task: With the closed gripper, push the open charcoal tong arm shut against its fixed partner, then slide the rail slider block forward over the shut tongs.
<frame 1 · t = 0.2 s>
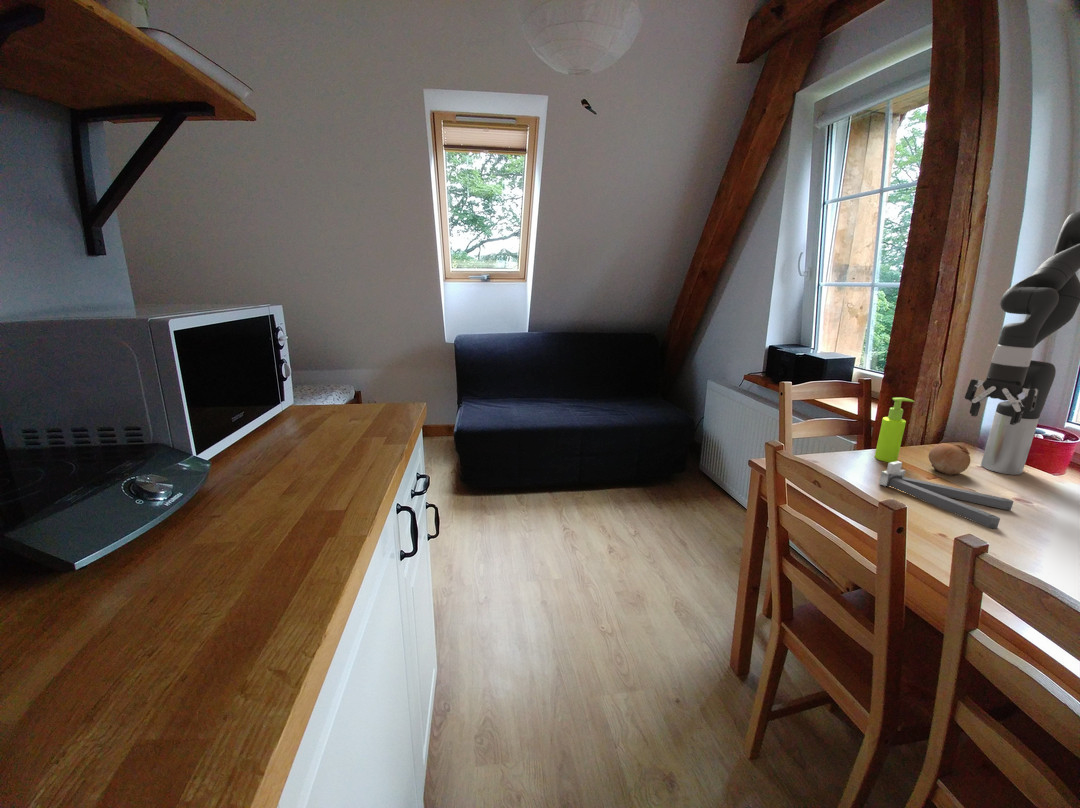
hand: (992, 420, 134), 18 cm above the table, tool pointing down, fingers open, 8 cm apart
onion: (945, 472, 143), on the table
rail slider block: (893, 472, 134), point 3 cm above the table, slide at 0.0 cm
soap dispenser: (887, 459, 153), on the table
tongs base: (897, 487, 133), on the table
tong arm: (954, 492, 127), point 1 cm above the table, hinge at 30.0°
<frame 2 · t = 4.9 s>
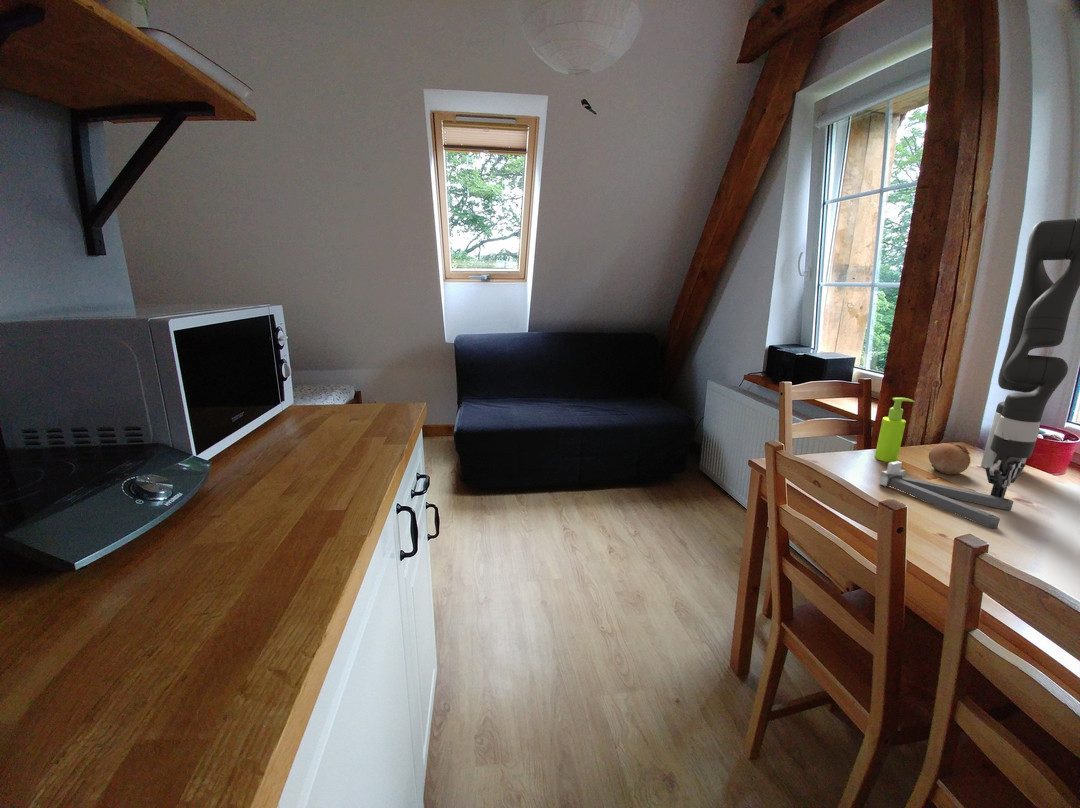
hand: (996, 498, 124), 1 cm above the table, tool pointing down, fingers closed
tong arm: (954, 492, 127), point 1 cm above the table, hinge at 30.0°, touching gripper
everything else where it was.
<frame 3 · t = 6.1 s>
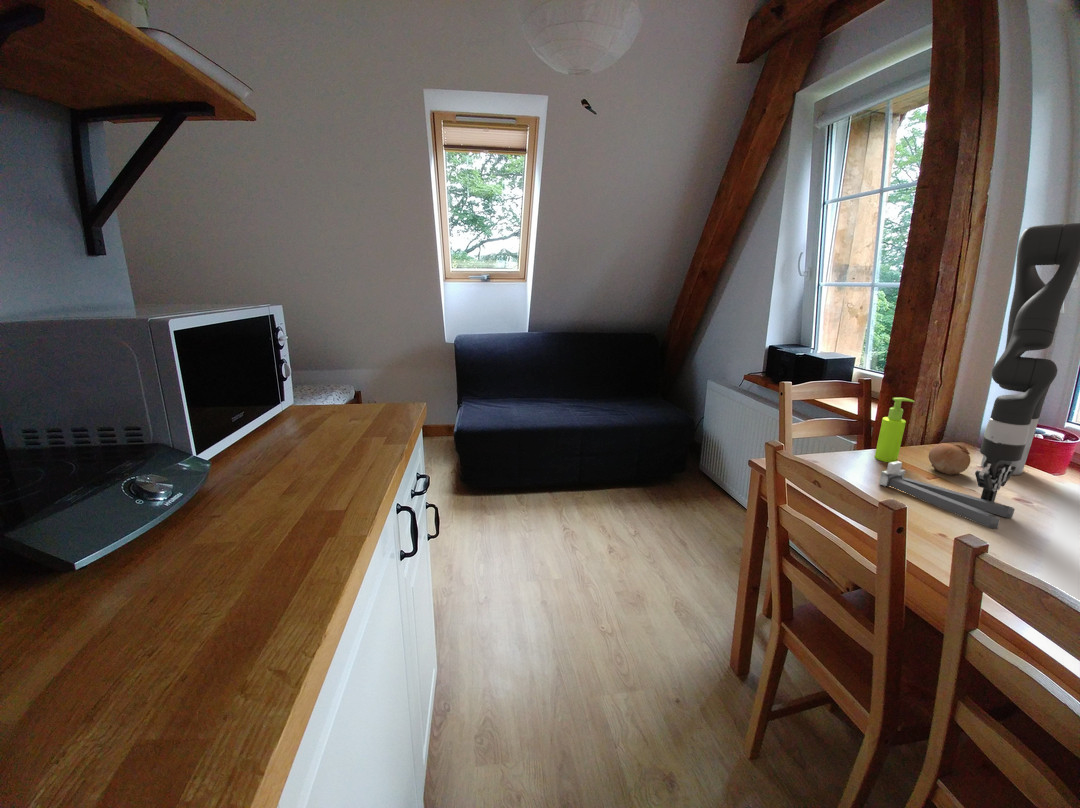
hand: (986, 502, 122), 1 cm above the table, tool pointing down, fingers closed
tong arm: (954, 496, 125), point 1 cm above the table, hinge at 16.5°, touching gripper
everything else where it was.
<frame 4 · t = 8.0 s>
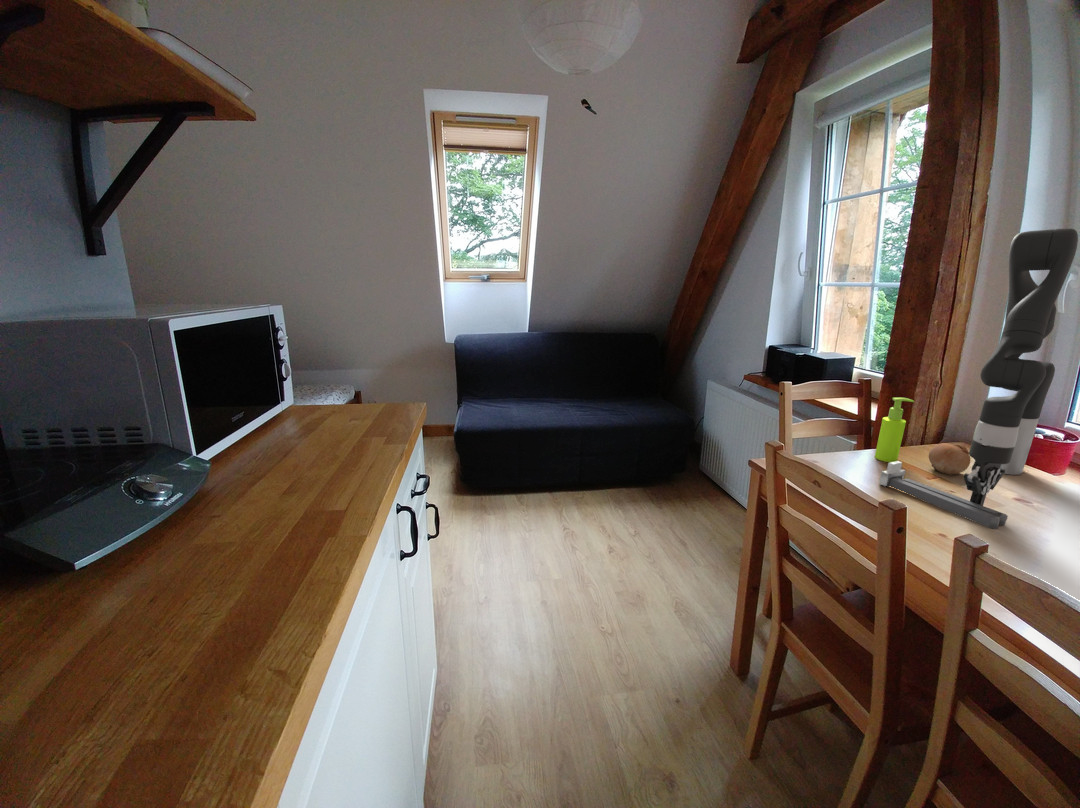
hand: (975, 505, 120), 1 cm above the table, tool pointing down, fingers closed
tong arm: (951, 500, 123), point 1 cm above the table, hinge at 1.4°, touching gripper
everything else where it was.
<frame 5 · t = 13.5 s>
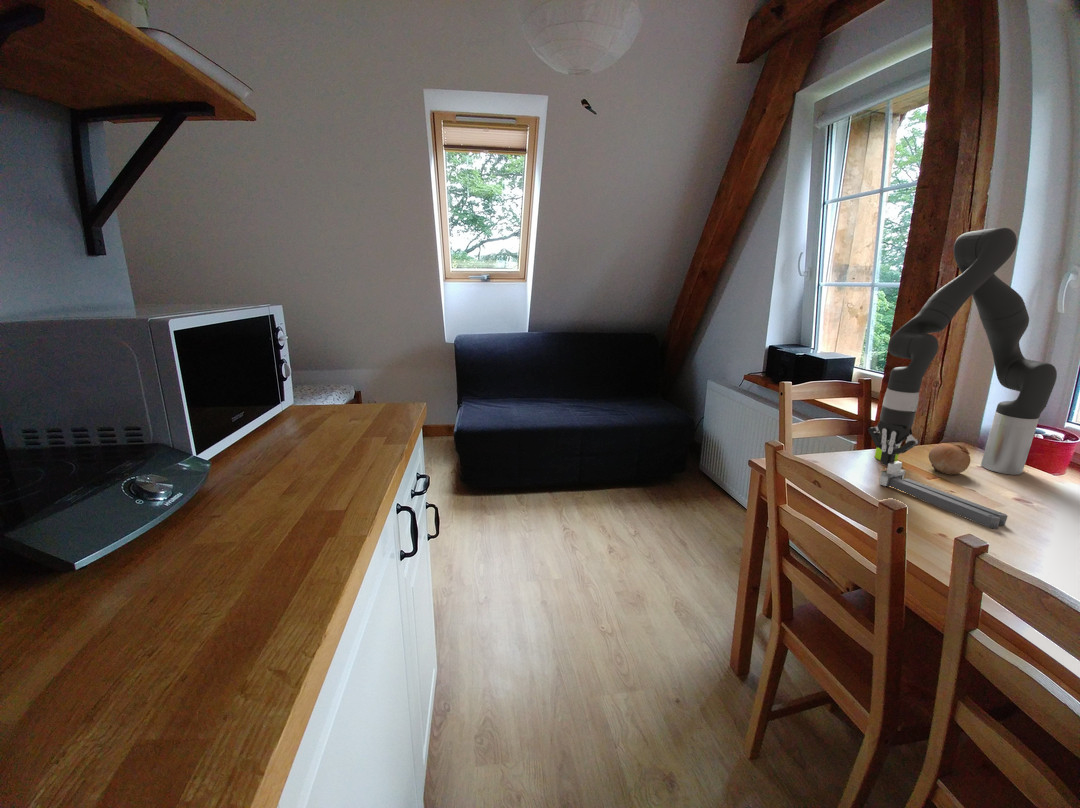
hand: (886, 464, 135), 5 cm above the table, tool pointing down, fingers closed
rail slider block: (893, 473, 134), point 3 cm above the table, slide at 0.0 cm, touching gripper
tong arm: (951, 500, 123), point 1 cm above the table, hinge at 1.4°
everything else where it was.
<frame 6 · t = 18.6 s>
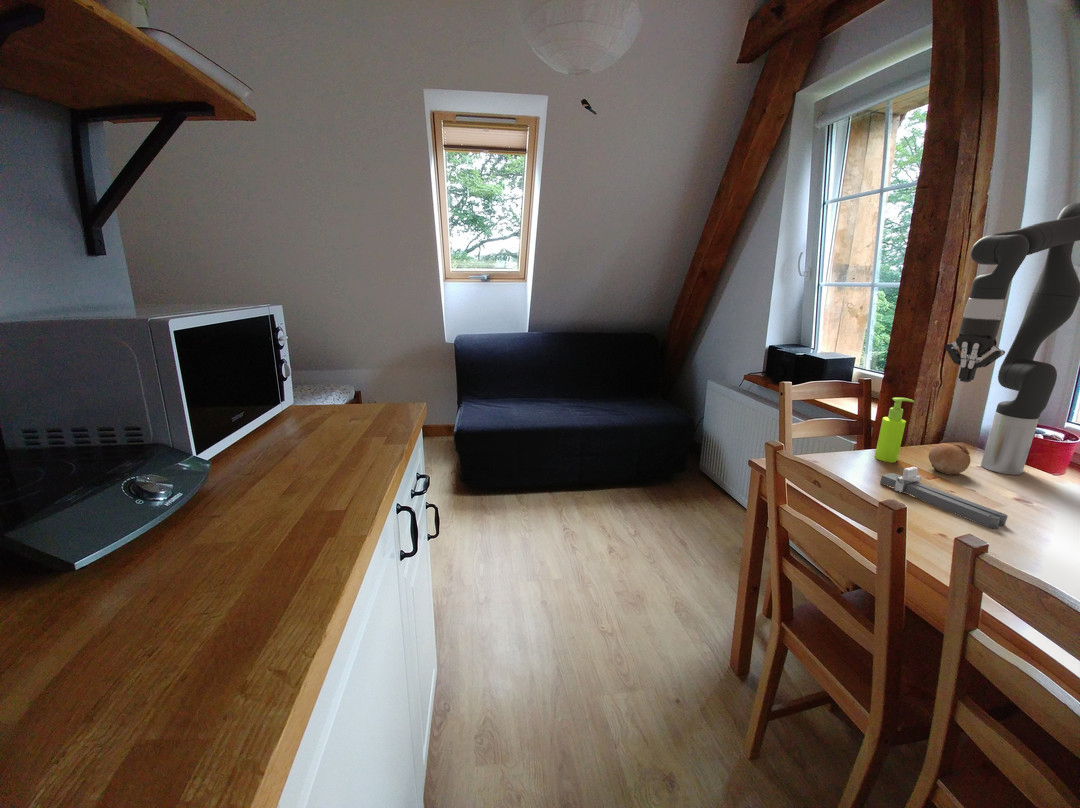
hand: (965, 381, 129), 29 cm above the table, tool pointing down, fingers closed
rail slider block: (908, 478, 130), point 3 cm above the table, slide at 4.1 cm
everything else where it was.
at the end: tong arm at +1° (first picture: +30°); rail slider block slide at 4.1 cm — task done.
